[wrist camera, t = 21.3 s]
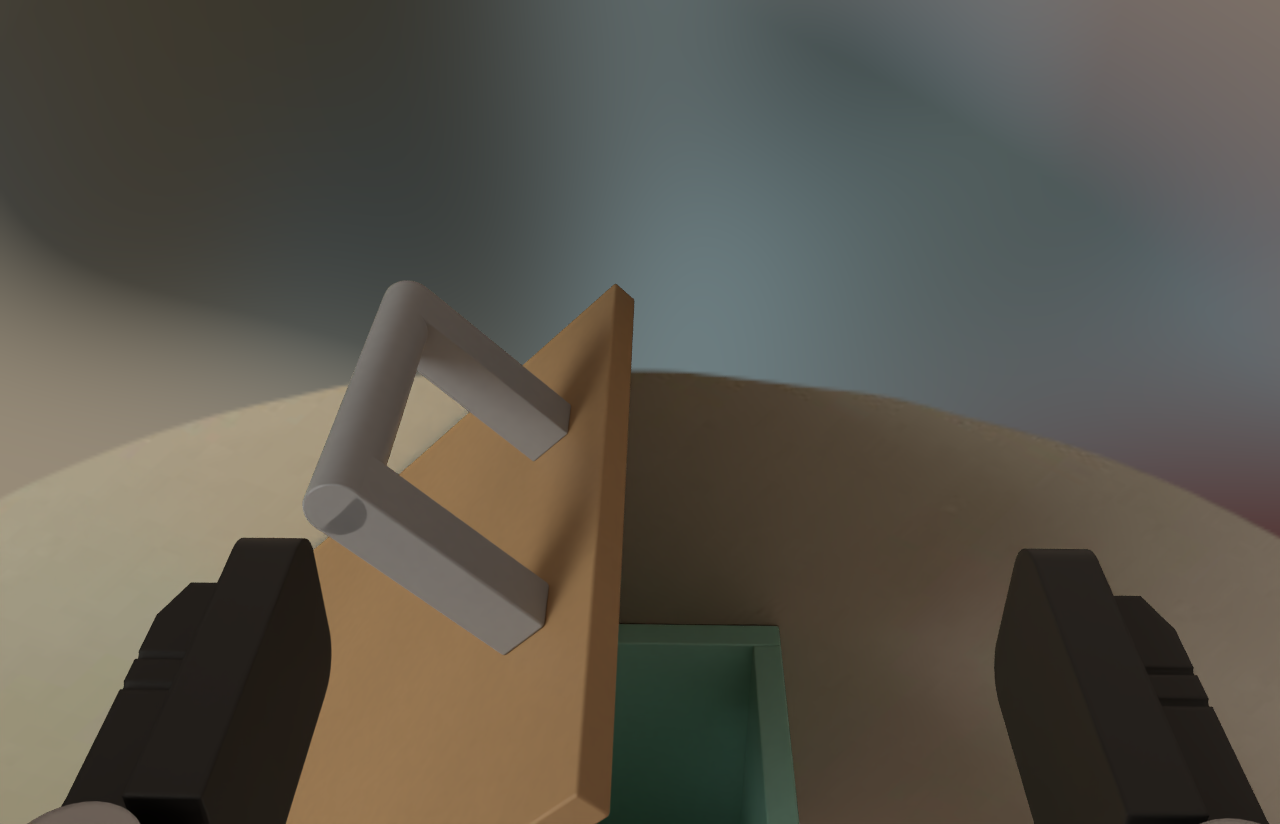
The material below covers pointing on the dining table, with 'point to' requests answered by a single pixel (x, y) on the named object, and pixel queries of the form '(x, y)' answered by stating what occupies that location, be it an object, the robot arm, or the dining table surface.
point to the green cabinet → (701, 727)
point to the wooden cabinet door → (472, 576)
